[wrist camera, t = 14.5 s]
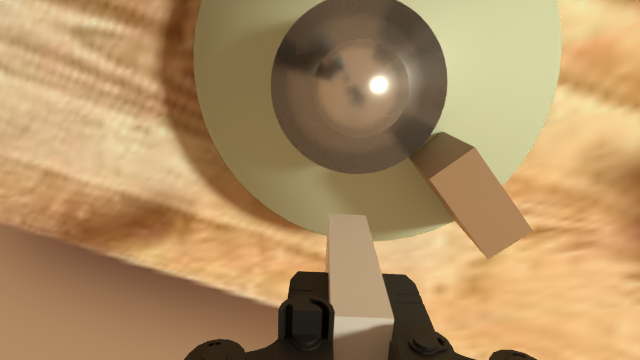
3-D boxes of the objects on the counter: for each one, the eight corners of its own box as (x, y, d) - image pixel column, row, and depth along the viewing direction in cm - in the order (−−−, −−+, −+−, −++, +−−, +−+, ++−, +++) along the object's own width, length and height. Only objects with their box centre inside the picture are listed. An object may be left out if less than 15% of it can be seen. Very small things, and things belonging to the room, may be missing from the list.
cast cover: (334, 183, 23) (335, 215, 17) (252, 67, 21) (226, 64, 16) (453, 105, 21) (493, 114, 16) (375, -25, 20) (391, -62, 14)
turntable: (338, 282, 27) (341, 352, 20) (136, 43, 23) (54, 29, 16) (604, 103, 23) (717, 113, 16) (414, -216, 19) (459, -375, 12)
